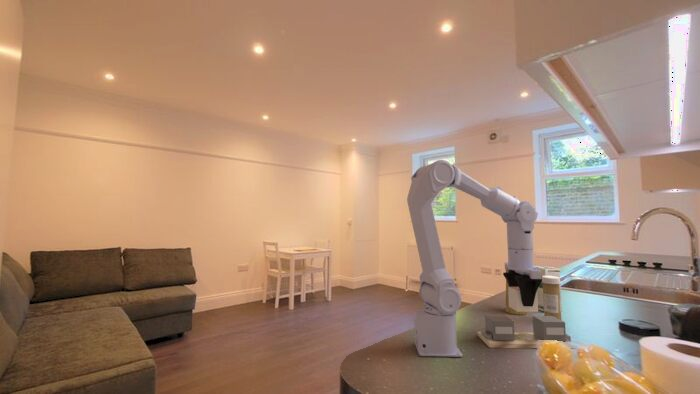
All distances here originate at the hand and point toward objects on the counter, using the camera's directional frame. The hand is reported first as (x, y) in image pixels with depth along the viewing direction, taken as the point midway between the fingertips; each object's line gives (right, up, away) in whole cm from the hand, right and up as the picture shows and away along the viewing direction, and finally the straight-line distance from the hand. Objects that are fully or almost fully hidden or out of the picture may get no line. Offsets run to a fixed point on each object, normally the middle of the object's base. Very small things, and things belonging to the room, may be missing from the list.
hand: (522, 303), depth 78 cm
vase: (+11, -12, +25) cm, 29 cm away
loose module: (0, -1, 0) cm, 1 cm away
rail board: (0, -9, -1) cm, 9 cm away
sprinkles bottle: (+17, -11, +14) cm, 25 cm away
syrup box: (+24, -12, +27) cm, 38 cm away
